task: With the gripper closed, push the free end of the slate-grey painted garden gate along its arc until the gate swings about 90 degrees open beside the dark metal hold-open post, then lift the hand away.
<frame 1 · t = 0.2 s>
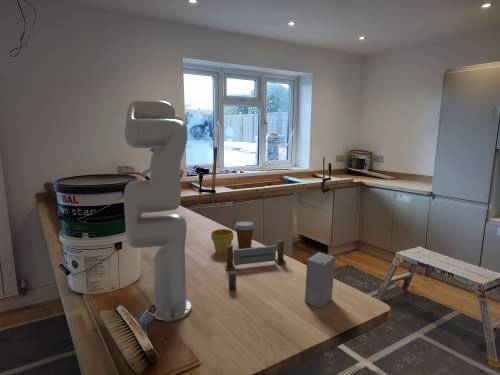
hand: (164, 190, 141), 31 cm above the counter, tool pointing down, fingers open, 9 cm apart
plant pot: (222, 252, 154), on the counter
skincare box: (319, 302, 109), on the counter
gate posts: (229, 268, 135), on the counter
disposable coffee cup: (244, 247, 162), on the counter
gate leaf: (255, 255, 137), point 5 cm above the counter, hinge at 0.0°
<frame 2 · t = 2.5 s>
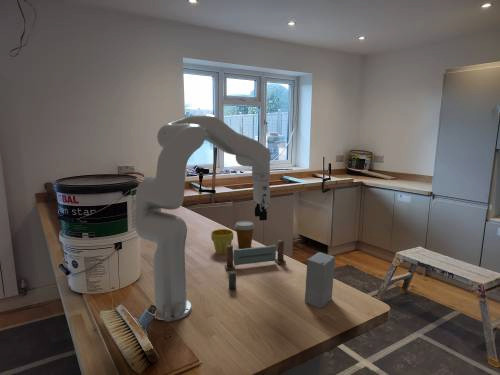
hand: (260, 217, 141), 20 cm above the counter, tool pointing down, fingers open, 5 cm apart
nothing on the counter moved.
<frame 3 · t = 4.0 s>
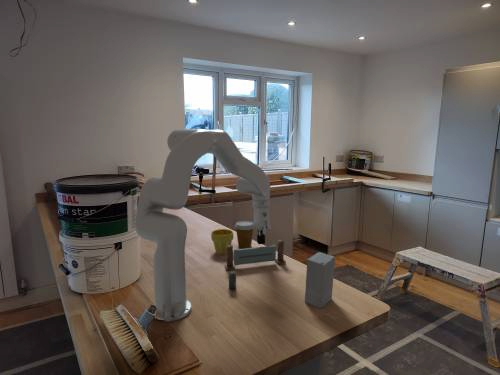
hand: (261, 243, 143), 8 cm above the counter, tool pointing down, fingers closed
nothing on the counter moved.
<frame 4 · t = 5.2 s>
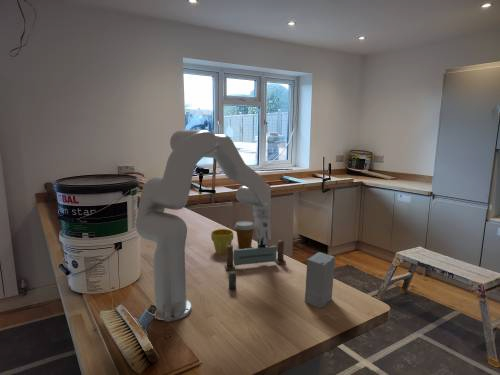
hand: (261, 253, 141), 4 cm above the counter, tool pointing down, fingers closed
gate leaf: (255, 255, 137), point 5 cm above the counter, hinge at 2.2°, touching gripper
everything else where it was.
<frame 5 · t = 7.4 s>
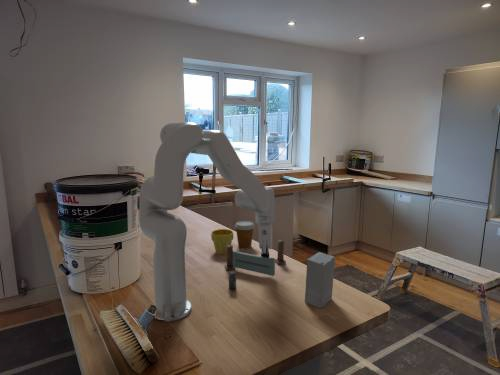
hand: (265, 262, 130), 5 cm above the counter, tool pointing down, fingers closed
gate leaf: (253, 262, 129), point 5 cm above the counter, hinge at 44.8°, touching gripper
everything else where it was.
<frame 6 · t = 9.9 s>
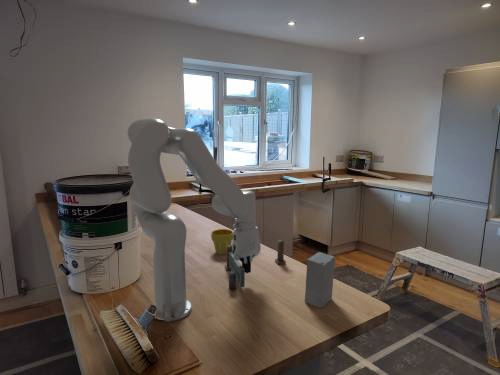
hand: (246, 271, 122), 5 cm above the counter, tool pointing down, fingers closed
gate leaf: (236, 268, 124), point 5 cm above the counter, hinge at 89.8°, touching gripper
everything else where it was.
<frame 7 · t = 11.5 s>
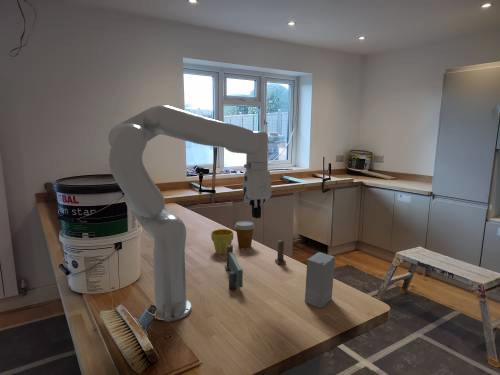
hand: (256, 217, 117), 26 cm above the counter, tool pointing down, fingers closed
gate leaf: (235, 268, 124), point 5 cm above the counter, hinge at 91.9°
everything else where it was.
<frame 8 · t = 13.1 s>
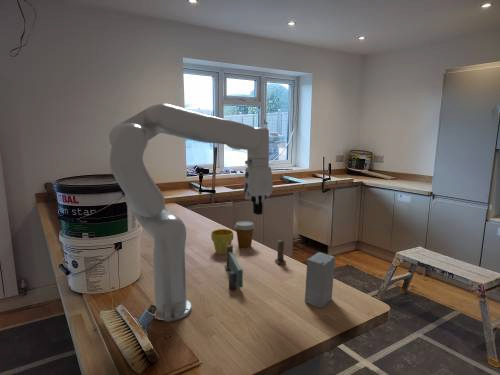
hand: (257, 213, 117), 27 cm above the counter, tool pointing down, fingers closed
nothing on the counter moved.
at the end: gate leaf at +92° (first picture: +0°); the gripper is holding nothing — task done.
